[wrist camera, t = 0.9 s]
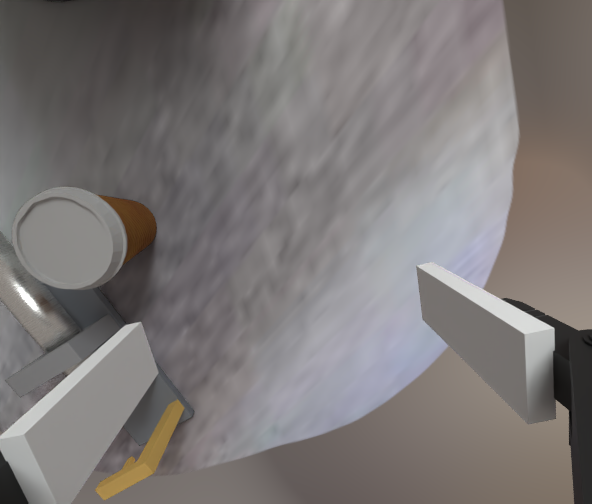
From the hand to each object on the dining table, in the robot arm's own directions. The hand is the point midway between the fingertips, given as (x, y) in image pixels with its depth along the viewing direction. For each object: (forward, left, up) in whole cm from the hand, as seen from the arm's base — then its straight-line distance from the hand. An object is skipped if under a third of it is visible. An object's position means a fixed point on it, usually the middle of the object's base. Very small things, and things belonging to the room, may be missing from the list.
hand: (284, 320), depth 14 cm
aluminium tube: (-7, -29, -23) cm, 38 cm away
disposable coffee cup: (-11, -16, -26) cm, 32 cm away
